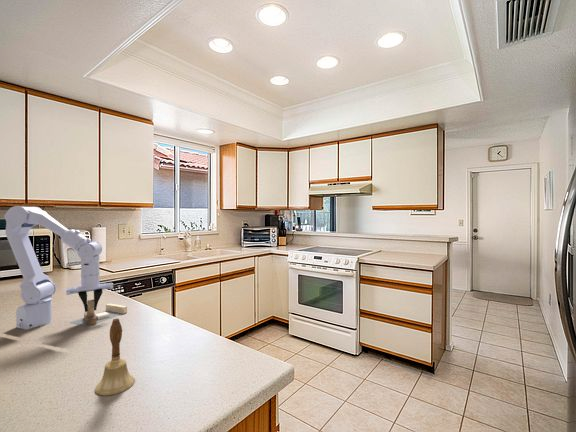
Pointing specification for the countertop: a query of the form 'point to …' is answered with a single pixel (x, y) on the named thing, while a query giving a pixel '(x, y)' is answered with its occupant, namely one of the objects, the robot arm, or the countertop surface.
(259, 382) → the countertop surface
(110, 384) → the hand bell
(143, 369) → the countertop surface
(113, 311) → the board
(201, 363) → the countertop surface
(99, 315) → the tile
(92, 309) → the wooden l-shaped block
